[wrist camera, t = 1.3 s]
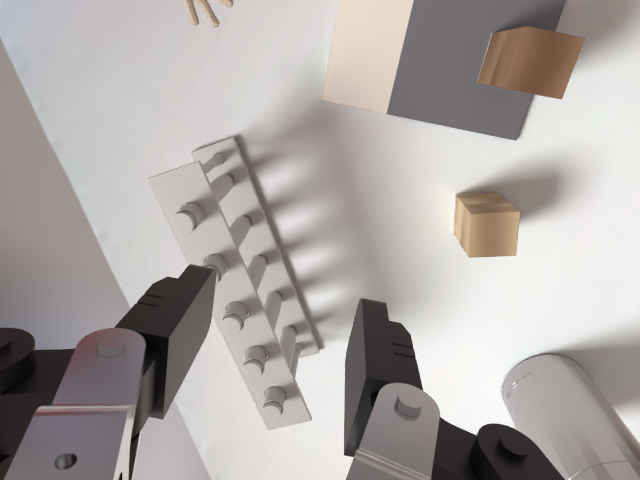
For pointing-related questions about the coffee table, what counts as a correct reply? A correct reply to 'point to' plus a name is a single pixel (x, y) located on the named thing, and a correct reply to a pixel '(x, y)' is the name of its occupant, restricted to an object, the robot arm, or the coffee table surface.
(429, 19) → the mat
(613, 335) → the coffee table surface
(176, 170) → the test tube rack
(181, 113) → the coffee table surface
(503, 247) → the oak block
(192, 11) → the toy
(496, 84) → the walnut block
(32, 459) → the robot arm
